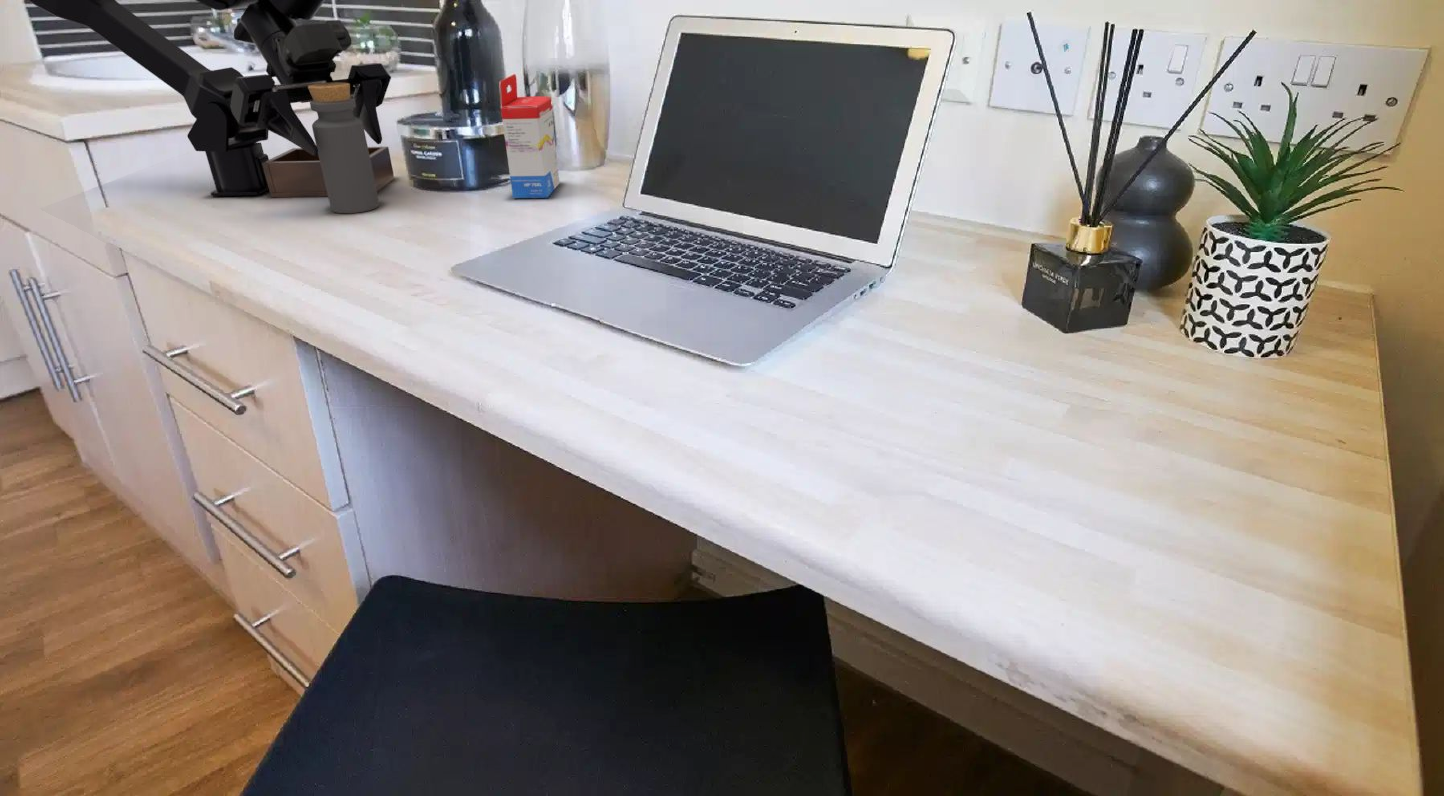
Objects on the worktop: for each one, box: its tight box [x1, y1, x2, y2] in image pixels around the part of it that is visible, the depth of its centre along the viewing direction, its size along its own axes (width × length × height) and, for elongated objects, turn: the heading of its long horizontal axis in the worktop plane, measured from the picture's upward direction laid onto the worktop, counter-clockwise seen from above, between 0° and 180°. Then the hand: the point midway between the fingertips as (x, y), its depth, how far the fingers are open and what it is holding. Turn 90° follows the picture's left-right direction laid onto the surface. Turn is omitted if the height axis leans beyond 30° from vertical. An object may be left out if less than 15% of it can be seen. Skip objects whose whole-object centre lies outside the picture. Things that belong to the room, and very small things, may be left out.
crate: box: [262, 146, 395, 198], centre depth 117 cm, size 14×10×5 cm
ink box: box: [498, 73, 560, 199], centre depth 112 cm, size 8×5×15 cm, turn 179°
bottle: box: [308, 82, 380, 214], centre depth 105 cm, size 6×6×15 cm
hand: (349, 147), depth 104 cm, fingers open, 8 cm apart
